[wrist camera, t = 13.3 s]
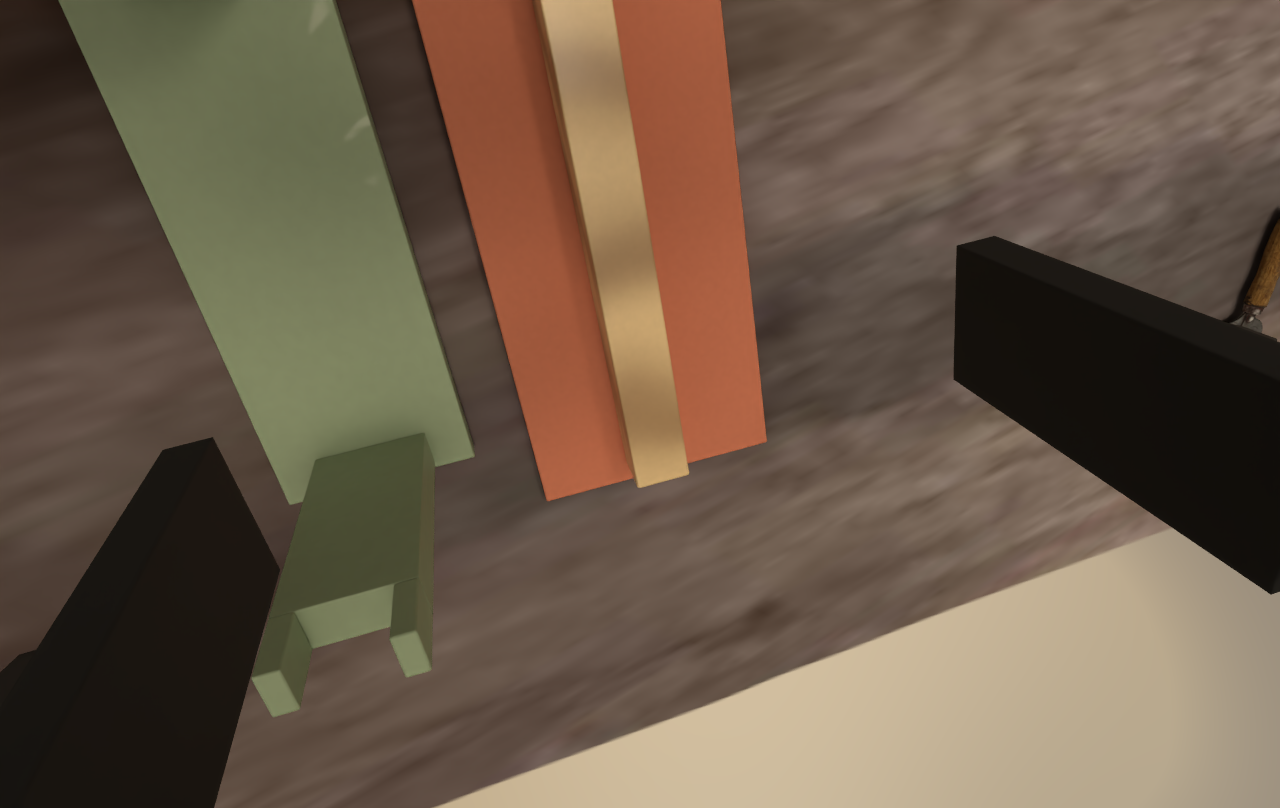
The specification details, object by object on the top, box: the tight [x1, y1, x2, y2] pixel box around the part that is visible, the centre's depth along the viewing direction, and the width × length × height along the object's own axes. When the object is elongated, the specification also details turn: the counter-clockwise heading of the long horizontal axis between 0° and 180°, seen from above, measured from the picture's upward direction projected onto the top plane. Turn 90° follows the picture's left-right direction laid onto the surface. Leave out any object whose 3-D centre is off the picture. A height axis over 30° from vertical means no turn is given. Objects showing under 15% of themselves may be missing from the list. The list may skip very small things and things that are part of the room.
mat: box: [412, 0, 767, 501], centre depth 32 cm, size 24×11×1 cm, turn 10°
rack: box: [58, 0, 475, 717], centre depth 23 cm, size 21×8×14 cm, turn 10°
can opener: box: [1230, 218, 1280, 333], centre depth 41 cm, size 9×2×1 cm, turn 168°
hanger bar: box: [532, 0, 689, 488], centre depth 30 cm, size 22×2×2 cm, turn 10°
